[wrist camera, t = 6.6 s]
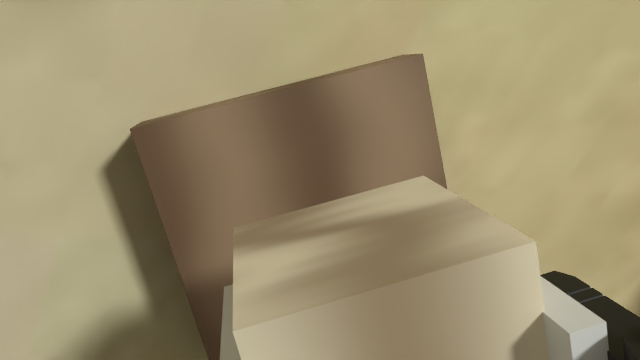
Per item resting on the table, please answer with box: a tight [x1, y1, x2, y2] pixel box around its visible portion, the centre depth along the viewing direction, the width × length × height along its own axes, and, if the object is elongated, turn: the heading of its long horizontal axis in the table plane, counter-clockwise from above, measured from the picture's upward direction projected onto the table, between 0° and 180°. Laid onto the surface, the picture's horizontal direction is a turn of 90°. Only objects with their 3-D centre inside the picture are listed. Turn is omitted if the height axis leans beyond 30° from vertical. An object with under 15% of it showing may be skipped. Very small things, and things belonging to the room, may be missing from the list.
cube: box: [232, 176, 549, 360], centre depth 13 cm, size 6×6×6 cm
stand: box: [130, 54, 447, 360], centre depth 23 cm, size 12×12×2 cm
